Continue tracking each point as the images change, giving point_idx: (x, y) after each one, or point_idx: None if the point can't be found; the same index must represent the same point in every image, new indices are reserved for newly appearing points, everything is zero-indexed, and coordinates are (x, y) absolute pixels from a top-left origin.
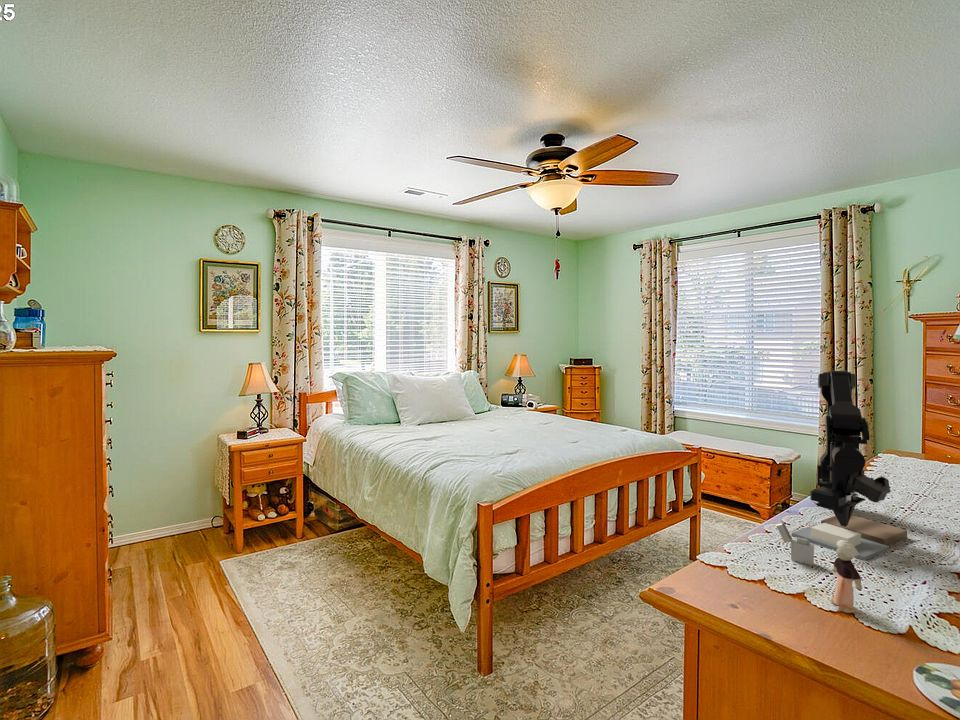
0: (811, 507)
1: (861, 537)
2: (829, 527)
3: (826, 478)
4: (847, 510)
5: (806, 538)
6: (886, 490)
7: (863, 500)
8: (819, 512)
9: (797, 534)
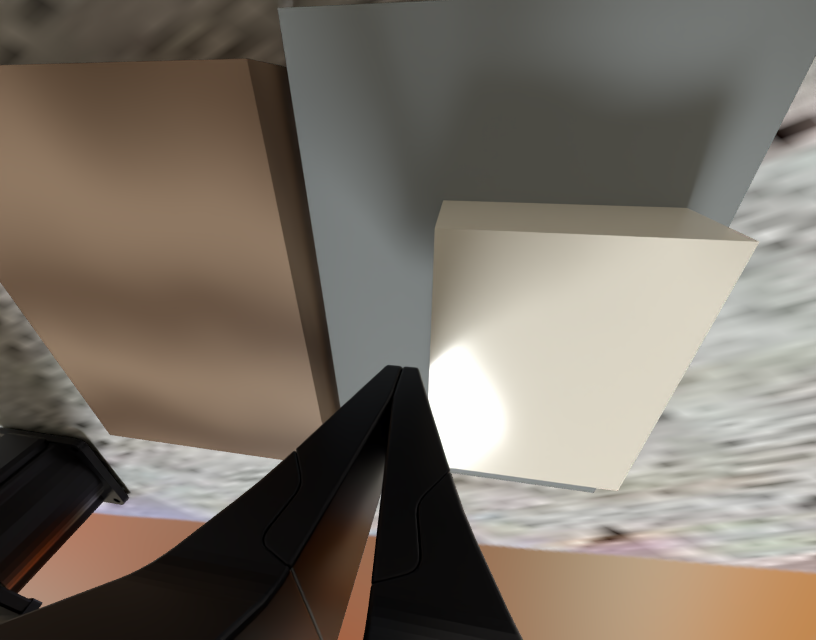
0: (166, 499)
1: (306, 254)
2: (505, 425)
3: None
4: (450, 552)
5: None
6: None
7: None
8: (178, 475)
9: None
